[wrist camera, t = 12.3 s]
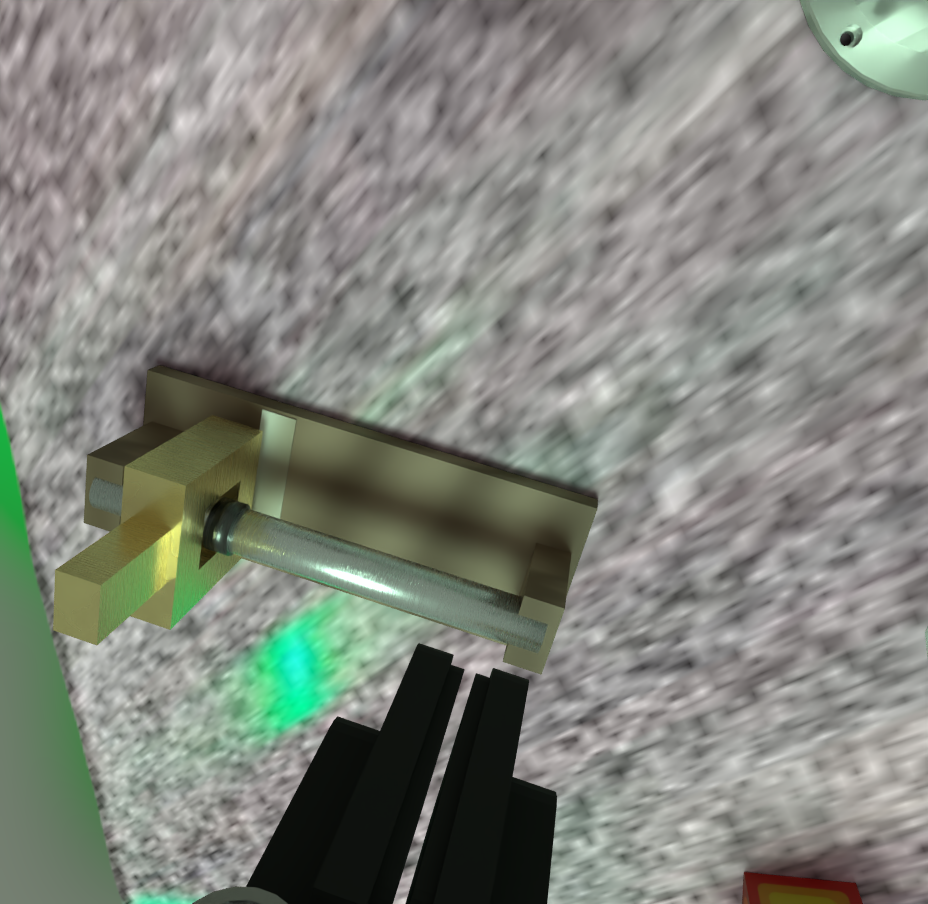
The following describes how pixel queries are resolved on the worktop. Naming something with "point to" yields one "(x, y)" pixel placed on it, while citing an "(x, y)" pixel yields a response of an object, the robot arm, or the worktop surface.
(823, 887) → the baking soda box
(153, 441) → the pipe stand
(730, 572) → the worktop surface
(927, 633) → the french press
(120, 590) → the collar
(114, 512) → the pipe
